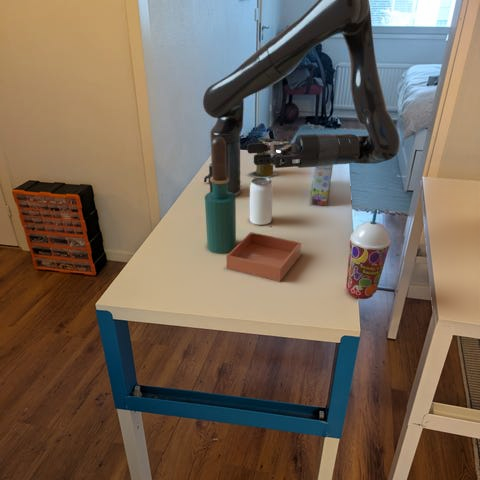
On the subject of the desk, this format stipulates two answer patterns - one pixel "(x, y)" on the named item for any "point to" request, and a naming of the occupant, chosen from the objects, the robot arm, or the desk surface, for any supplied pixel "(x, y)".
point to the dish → (264, 256)
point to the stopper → (219, 161)
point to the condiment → (263, 167)
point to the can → (261, 201)
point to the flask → (220, 219)
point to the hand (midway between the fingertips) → (250, 154)
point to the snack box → (321, 184)
